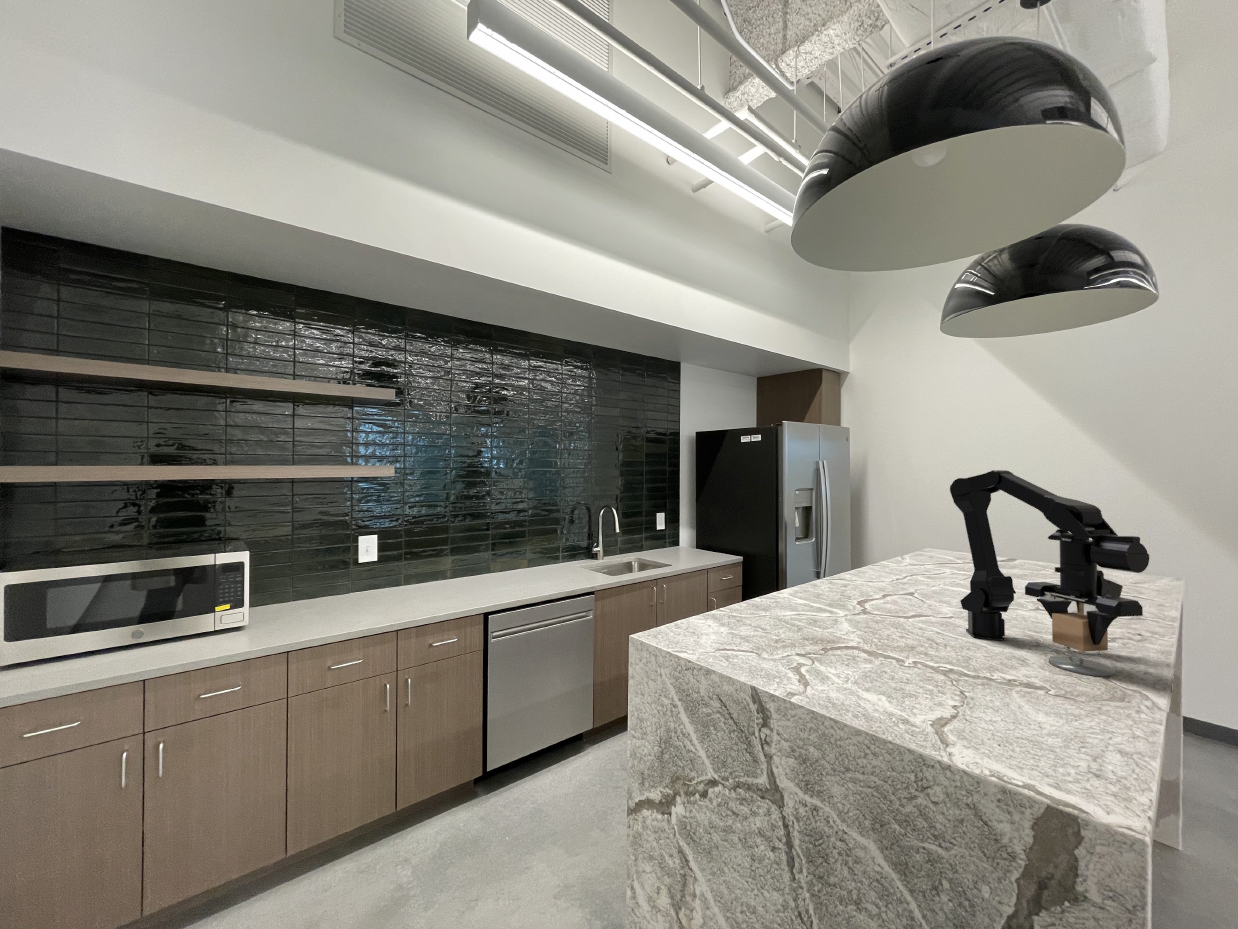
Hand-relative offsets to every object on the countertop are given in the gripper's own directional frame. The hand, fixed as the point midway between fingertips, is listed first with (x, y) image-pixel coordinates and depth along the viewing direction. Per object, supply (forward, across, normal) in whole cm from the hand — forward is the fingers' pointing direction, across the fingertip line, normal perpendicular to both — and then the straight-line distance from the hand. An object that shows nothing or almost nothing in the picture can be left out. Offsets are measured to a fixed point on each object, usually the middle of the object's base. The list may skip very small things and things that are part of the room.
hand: (1079, 639), depth 103 cm
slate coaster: (+6, 0, 0) cm, 6 cm away
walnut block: (+1, 0, 0) cm, 1 cm away
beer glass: (+6, +8, -11) cm, 15 cm away
